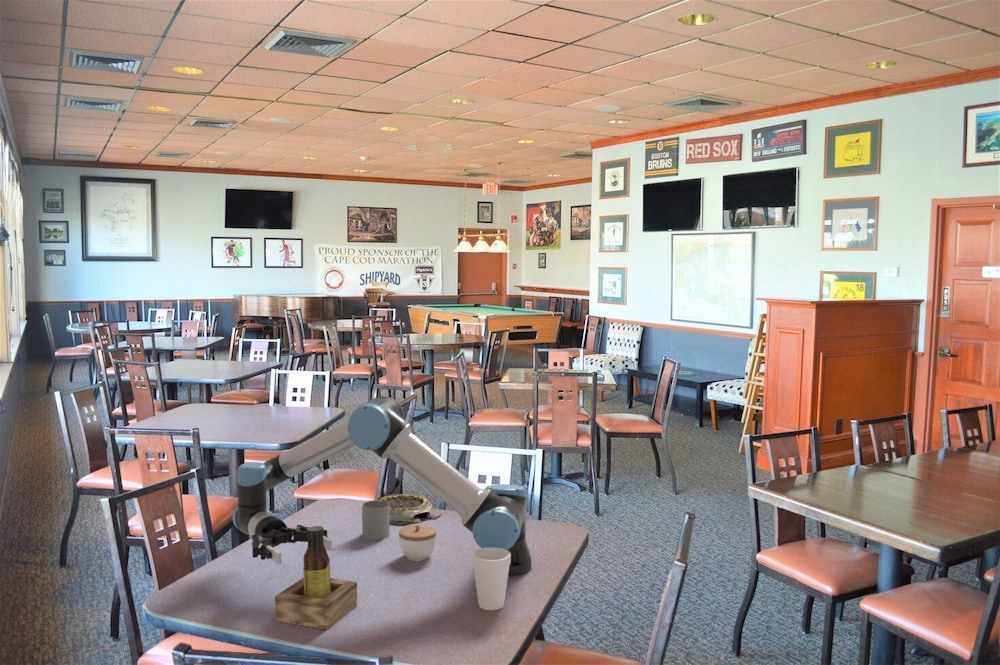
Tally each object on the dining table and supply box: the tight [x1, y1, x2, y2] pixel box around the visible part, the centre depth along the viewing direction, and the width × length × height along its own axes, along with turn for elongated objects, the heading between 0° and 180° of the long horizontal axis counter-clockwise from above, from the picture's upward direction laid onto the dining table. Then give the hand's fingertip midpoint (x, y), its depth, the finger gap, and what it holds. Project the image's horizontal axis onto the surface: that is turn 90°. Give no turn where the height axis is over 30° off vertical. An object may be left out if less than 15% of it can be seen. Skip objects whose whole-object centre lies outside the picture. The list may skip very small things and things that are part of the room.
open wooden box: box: [274, 577, 358, 631], centre depth 188 cm, size 14×14×6 cm
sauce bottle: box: [303, 525, 331, 599], centre depth 188 cm, size 6×6×20 cm
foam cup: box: [472, 547, 511, 611], centre depth 193 cm, size 10×9×13 cm
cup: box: [361, 499, 390, 541], centre depth 243 cm, size 8×8×10 cm
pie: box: [372, 493, 442, 526], centre depth 267 cm, size 28×27×5 cm
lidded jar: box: [398, 524, 437, 562], centre depth 225 cm, size 11×11×9 cm
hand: (305, 552), depth 191 cm, fingers open, 13 cm apart
